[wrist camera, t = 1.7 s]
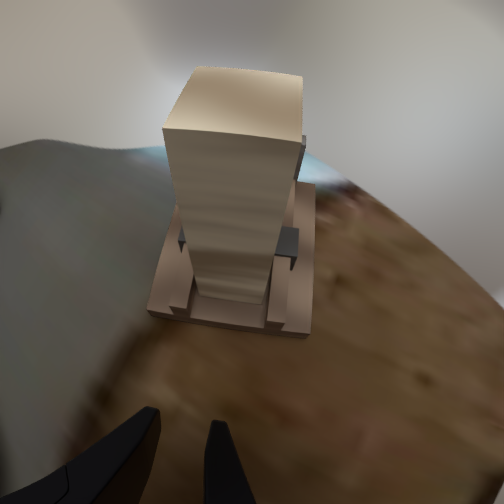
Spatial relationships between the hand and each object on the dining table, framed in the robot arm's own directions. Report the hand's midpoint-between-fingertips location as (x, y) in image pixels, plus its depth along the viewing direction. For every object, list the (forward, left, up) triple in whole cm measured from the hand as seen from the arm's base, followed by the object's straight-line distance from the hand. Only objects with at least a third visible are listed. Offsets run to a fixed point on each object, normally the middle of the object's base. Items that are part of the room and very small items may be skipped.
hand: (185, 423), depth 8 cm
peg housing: (+11, +8, -14) cm, 19 cm away
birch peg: (+9, +6, -12) cm, 16 cm away
